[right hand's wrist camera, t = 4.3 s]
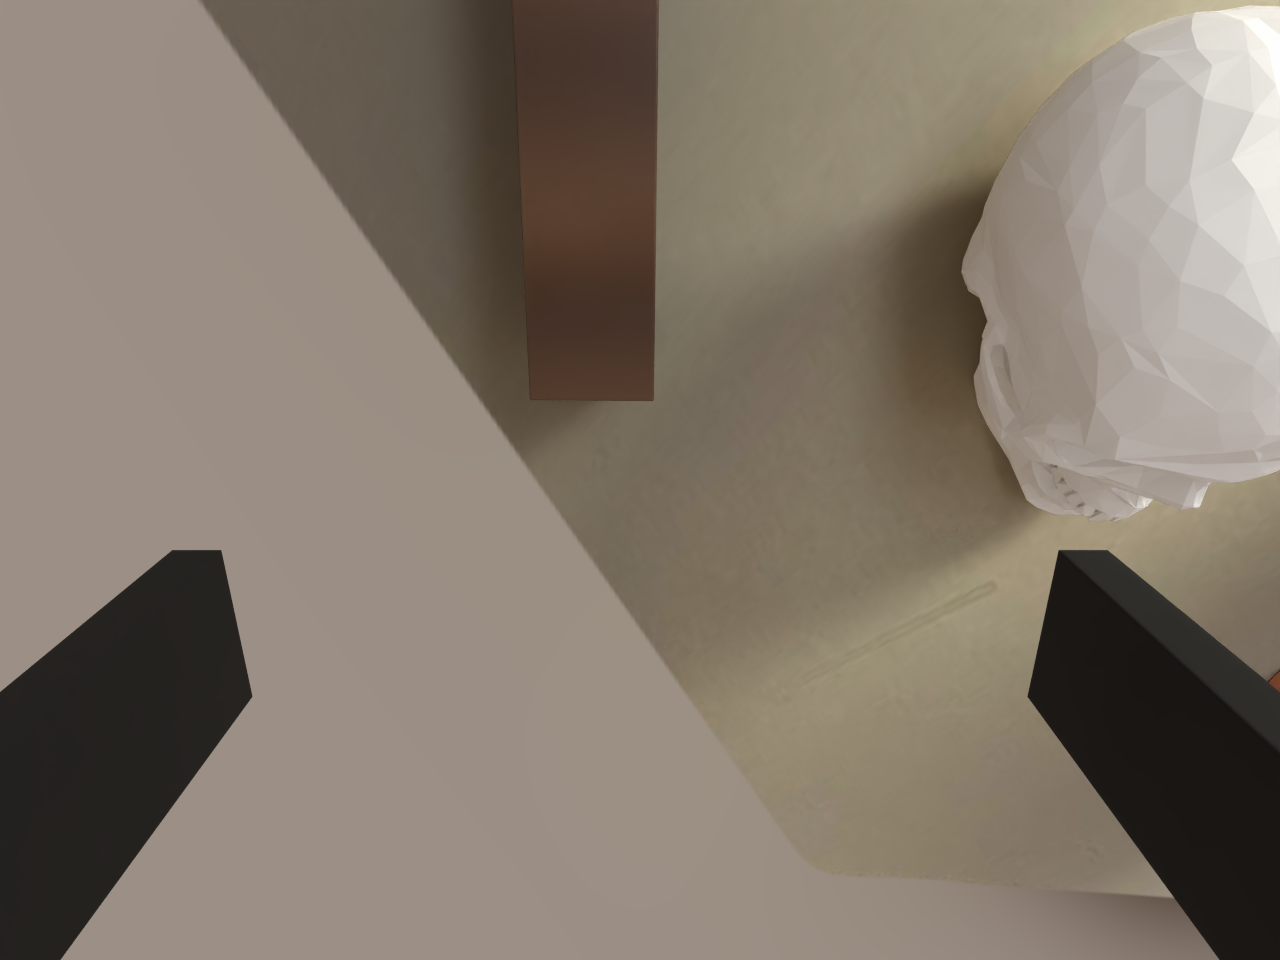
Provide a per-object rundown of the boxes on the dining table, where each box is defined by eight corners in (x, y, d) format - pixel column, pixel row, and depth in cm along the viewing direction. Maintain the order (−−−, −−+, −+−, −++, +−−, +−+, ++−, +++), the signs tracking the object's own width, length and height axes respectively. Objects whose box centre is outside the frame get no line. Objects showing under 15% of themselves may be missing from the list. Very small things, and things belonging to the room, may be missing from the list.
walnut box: (533, -244, 32) (493, -389, 24) (659, -243, 32) (663, -389, 24) (553, 352, 41) (529, 400, 32) (652, 352, 41) (653, 401, 32)
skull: (941, 520, 44) (1106, 698, 29) (923, 78, 36) (1138, 11, 21) (1187, 479, 43) (1485, 639, 28) (1224, 21, 35) (1662, -87, 21)
